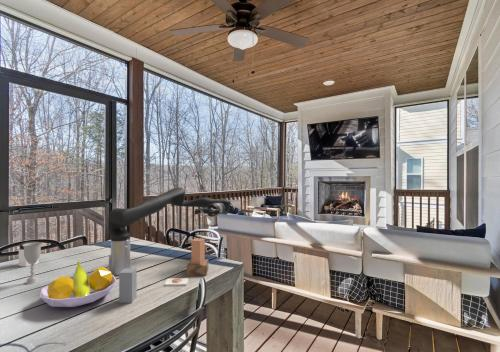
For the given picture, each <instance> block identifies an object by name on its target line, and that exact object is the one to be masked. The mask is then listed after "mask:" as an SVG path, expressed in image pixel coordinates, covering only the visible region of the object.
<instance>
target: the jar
mask: <svg viewBox="0 0 500 352" xmlns="http://www.w3.org/2000/svg"><path fill="white" fill-rule="evenodd" d="M34 242H36V241H35V240H33V241H26V242H25V241H24V242H21V243H19V249H18V267H23V268H27V267H31V264H29V263H28V262H27V261H26V259H25V257H24V247H23V245H24V244H27V243H34ZM39 262H40V259H38V260H37V262H36V263H34V266H36V265H38V263H39Z"/></svg>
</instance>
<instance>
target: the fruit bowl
mask: <svg viewBox="0 0 500 352" xmlns="http://www.w3.org/2000/svg"><path fill="white" fill-rule="evenodd" d="M117 282H118V281H117V279H116V277H115V275H112V273H111V272H110V271H109V269H107V268H106V267H105V266H102V267H96V268H95V269H94V270H93V271H92V272H91V273H86V270H84V268H83V266H82V265H81V262H80V261H78V262H77V265H76V268H75V270H74V273H73V275H72V276H69V277H68V276H58V277H57V278H55V279H54V280H53V281H51V282H50V283H48V285H46V286H44V287H42V288H41V289H40V294H39V297H40V298H41V300H43V302H44V303H46V304H47V305H49V306H50V307H51V308H52V307H53V308H58V307H59V308H77V307H80V306H83V305H86V304H90V303H94V302H95V301H98V300H99V299H101V298H102V297H105V296H107V295H108V294H111V291H112V290H113V288H114V286H115V285H116V283H117Z"/></svg>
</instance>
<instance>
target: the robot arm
mask: <svg viewBox="0 0 500 352" xmlns="http://www.w3.org/2000/svg"><path fill="white" fill-rule="evenodd" d="M185 197H186V189H184V188H183V187H179V186H177V187H173V188H171V189H169V190H166V191H165V192H164V193H160V194H159V195H156V196H152V197H149V198H147V199H145V200H143V201H142V202H141V203H140V204H139V205H137V206H134V207H131V208H121V207H120V208H119V207H118V208H117V207H116V208H114V209H111V211H110V212H109V214H108V218H107V219H108V220H107V221H108V222H107V223H108V224H107V225H108V234H109V237H110V254H109V256H108V270H109V271H110V272H111V273H112V275H114V276H119V273H120V272H121V271H122V270H123V269H125V268H131V233H130V232H129V231H128V230H127V229H126V227H129V226H131V225H133V224H134V223H136V222H138V221H140V220H141V219H143V218H146V217H148V216H151V215H154V214H157V213H158V212H160V211H162V210H163V209H164V208H165V207H166V206H167V205H168V204H169V203H170V204H171V205H172V206H175V207H176V206H177V207H186V208H187V207H188V208H189V207H190V208H196V209H194V215H207V216H208V217H216V216H219V215H224V216H227V215H228V214H229V212H230V208H231V205H232V203H231V202H232V201H231V200H230V199H228V198H217V199H216V198H210V197H204V196H203V197H199V198H195V199H191V200H185Z"/></svg>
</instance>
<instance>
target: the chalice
mask: <svg viewBox="0 0 500 352" xmlns="http://www.w3.org/2000/svg"><path fill="white" fill-rule="evenodd" d="M42 244H43V242H42V241H41V242H40V241H35V242H34V243H27V244H24V245H23V247H24V257H25V259H26V261H27V262H28V263H29V264H31V266H30V272H29V273H30V276H29V277H28V278H27V280H26V282H25V285H33V284H34V285H35V284H36V283H37V284H38V283H39V282H40V280H39V278H38V276H35V265H34V263H36V262H37V260H38V259H39V258H40V256H41V254H42V250H41V249H42ZM39 260H40V259H39Z"/></svg>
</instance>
